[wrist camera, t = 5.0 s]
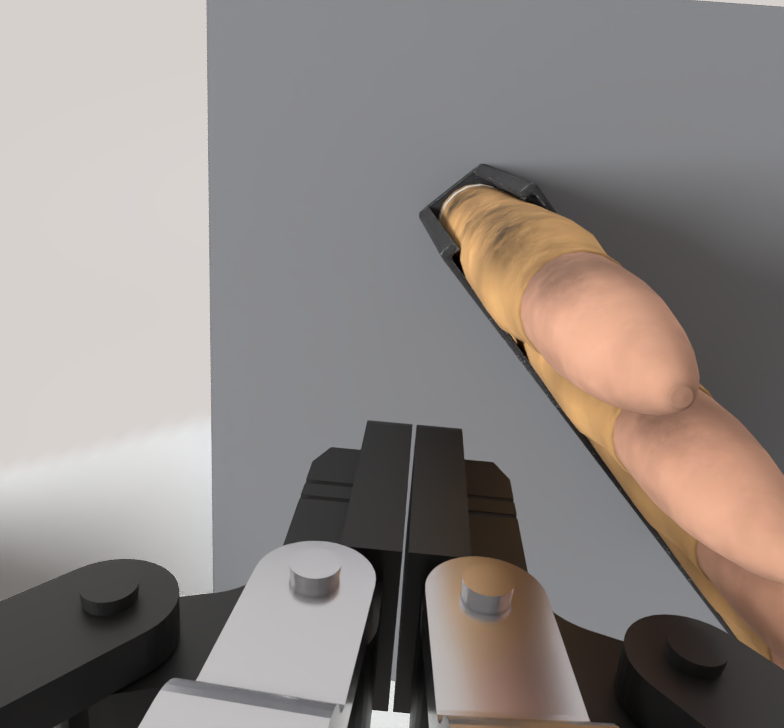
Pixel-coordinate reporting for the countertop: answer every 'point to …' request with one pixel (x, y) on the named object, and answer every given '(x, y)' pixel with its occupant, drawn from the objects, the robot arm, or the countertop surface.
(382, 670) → the robot arm
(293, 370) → the mat
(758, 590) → the ammunition clip
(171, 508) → the countertop surface
